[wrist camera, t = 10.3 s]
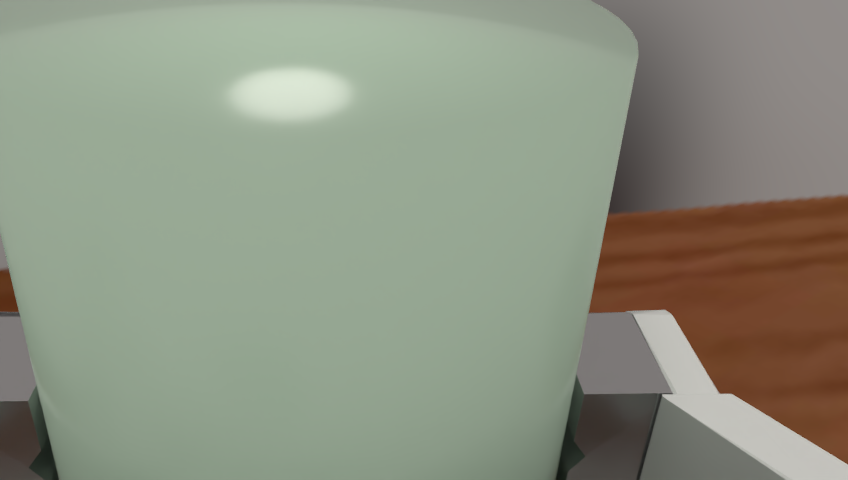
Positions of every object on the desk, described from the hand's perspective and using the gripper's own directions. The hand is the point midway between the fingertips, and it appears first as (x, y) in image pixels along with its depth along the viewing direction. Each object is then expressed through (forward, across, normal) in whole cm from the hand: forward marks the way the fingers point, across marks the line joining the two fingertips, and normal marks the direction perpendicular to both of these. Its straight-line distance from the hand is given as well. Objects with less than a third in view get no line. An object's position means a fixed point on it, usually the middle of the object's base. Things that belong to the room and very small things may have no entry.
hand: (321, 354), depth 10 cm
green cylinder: (-1, 0, -7) cm, 7 cm away
